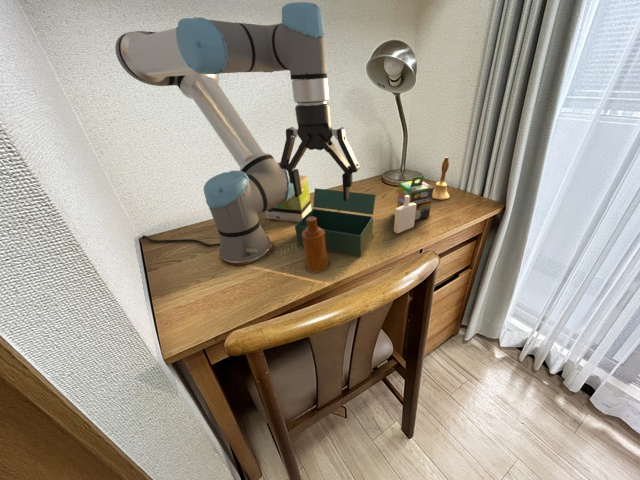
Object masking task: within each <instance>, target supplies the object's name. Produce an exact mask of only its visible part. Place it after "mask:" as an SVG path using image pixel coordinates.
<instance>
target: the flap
mask: <svg viewBox="0 0 640 480" xmlns="http://www.w3.org/2000/svg"><path fill="white" fill-rule="evenodd" d="M376 197H377V195H376V194H373V193H363V192H353V191H349V198H348V200H347V201H344V197H343V190H334V189H325V188H316V187H314V193H313V203H312V204H313V205H312V207H313V208H316V209H324V210H333V211H339V212H347V213H355V214H362V215H371V216H373V215H374V210H375V203H376Z"/></svg>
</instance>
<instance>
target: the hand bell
mask: <svg viewBox="0 0 640 480" xmlns="http://www.w3.org/2000/svg"><path fill="white" fill-rule="evenodd" d="M449 158H450V157H449V156H445V157H444V159H443V161H442V164H441V176H440V180H439V181H438V182H436V183H435V186H434V189H433V195H432V199H435V200H439V201H440V200H441V201H442V200H443V201H444V200H448V199H450V194H449V193H448V184H447V183H446V182H445V181H446V174H447V172H448V170H449V166H450V159H449Z"/></svg>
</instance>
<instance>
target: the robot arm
mask: <svg viewBox="0 0 640 480" xmlns="http://www.w3.org/2000/svg"><path fill="white" fill-rule="evenodd" d="M323 18H324V17H323V12H322V9H321V7H320V6H319V5H318V4H316V3H313V2H307V1H296V2H295V1H294V2H289V3H285V4H284V5H283V6H282V7H281V22H280V23H276V24H267V25H264V24H253V23H244V22H231V21H223V20H215V19H207V18H205V17H192V18H191V17H185V18H184V17H183V18H180V20H179V21H178V22H177V27H174V28H169V29H166V30H162V31H146V30H136V31H135V30H134V31H129V32H125V33H123V34H121V35H120V36H119V37H118V38H117V40H116V42H115V47H114V48H115V55H116V58H117V61H118V62H119V64H120V65H121V67H122V68H123V69H124V71H125V72H126V73H127V74H128V75H129V76H131V77H132V78H134V79H135V80H137V81H139V82H141V83H143V84H146V85H150V86H156V87H169V86H170V87H171V86H173V87H174V86H177V88H178V89H179V91H181V93H182V94H183V95H184V96H185V97H186V98H188V99H190V100H191V99H192V100H193V101H194V103H195V104H196V105H197V107H198V108H199V110H200V111H201V113H202V114H203V116H204V117H205V119H206V120H207V122H208V123H209V124H210V126H211V127H212V129H213V131H214V132H215V133H216V135H217V136H218V137H219V139H220V141H221V142H222V143H223V145H224V147H225V148H226V149H227V151H228V152H229V153H230V155H231V156H232V158H233V159H234V161H235V162H236V164H237V165H238V167H239V170H229V171H227V172H226V171H225V172H222V173H219V174H216V175H214V176H212V177H211V178H209V179H208V180H207V181H206V182H205V183H204V185H203V194H204V198H205V201H206V202H205V203H206V205H207V206H208V209H209V211H210V214H211V216H212V219H213V221H214V223H215V226H216V229H217V231H218V234H219V243H205V242H203V241H201V240H198V239H193V238H191V239H190V238H185V239H184V238H183V239H181V238H180V239H151V238H149V237H148V236H147V235H142V236H141V239H142V240H143V239H146V240H147V241H149V242H151V243H181V242H194V243H198V244H200V245H202V246H205V247H219V255H220V258H221V260H222V261H223V262H224V263H225V264H227V265H230V266H247V265H251V264H254V263H257V262H259V261H261V260H263V259H265V258H266V257H267V256H268V255H270V253H271V252H272V250H273V245H272V241H271V239H270V237H269V236H268V235H267V233H266V231H265V230H264V228H263V227H262V225H261V222H260V218H259V216H258V215H260V214H262V213H266V212H265V211H267V210H269V209H271V208H273V207H275V206H278V205H280V204H283V203H285V202H286V201H288V200H289V199H291V198H292V197H293V195H294V193H295V197H298V196H300V195H301V194H302V190H301V184H300V177H299V175H300V171H299V169H298V168H297V166H298V164H299V163H300V161H301V159H302V158H303V156H304V154H305V153H306V151H307V150H309V151H313V150H317V151H322V150H324V151H325V152H326V153H328V154H329V155H330V157H331V158H332V160H334V161H335V163H336V164H337V165H338V167H340V169H341V170H342V171H343V172H344V173H342V176H341V177H342V191H343V197H344V201H347V200H348V198H349V192H350V188H351V187H352V186H353V181H354V180H353V173H357V172H358V171H359V170H360V167H361V166H360V164H359V162H358V160H357V158H356V156H355V153H354V151H353V149H352V147H351V144H350V143H349V140H348V139H347V134H346V129H345V127H343V126H341V127H340V128H334V129H333V127H332V120H331V119H332V118H331V106H330V105H329V103H327V102H328V101H329V100H330V94H329V80H328V73H327V72H328V71H327V60H326V59H327V57H326V54H327V53H326V52H327V51H326V33H325V28H324V27H325V26H324V19H323ZM283 71H289V73H290V81H291V88H292V97H293V102H294V103H295V104H296V105H295V107H294V111H295V116H296V117H295V118H296V123H297V128H295V126H294V127H293V126H291V127H288V128H286V129H285V143H284V146H283V150H282V151H283V152H282V154H281V159H280V161H279V162H277V161H276V159H275V157H273V155H272V154H271V153H267V152H264V151H263V148H262V147H261V146H260V144H259V143H258V141H257V140H256V138H255V137H254V135H253V134H252V132H251V131H250V129H249V128H248V126H247V124H245V122H244V120H243V118H241V116H240V114H239V113H238V111H237V110H236V109H235V107H234V105H233V104H232V103H231V101H230V99H229V98H228V96H227V95H226V93H225V91H223V89H222V87H221V86H220V85H219V84H220V74H237V73H274V72H283ZM333 136H334V138H335V139H336V140H337V142H338V144H339V146H340V149H341V150H342V153H343V155H344V156H343V155H342V153H341V151H339V150H338V148H337V147H336V145H335V143H334V142H333V141H332V138H333ZM297 137H298V138H299V139H300V140H301V142H300V144H299V145H298V148H297V149H296V152H294V155H293V157H292V154H293V153H292V152H293V150H294V145H295V141H296V138H297ZM291 157H292V158H291Z"/></svg>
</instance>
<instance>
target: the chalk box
mask: <svg viewBox="0 0 640 480" xmlns="http://www.w3.org/2000/svg"><path fill="white" fill-rule="evenodd" d="M424 179H425V176H424V175H420V176H419V175H418V176H414V177H413V178H412V180H409V181H405V182H400V183H399V184H398V192H397V205H396V208H398V207H401V206H403V205H404V200H405V196H407V195H408V196H410V198H409V203H412V202H413V203H416V213H415V221H417V220H422V219H426V218H429V217H430V213H431V208H432V201H433V198H432V195H433V190H434V188H435V186H432V185H430V184H428V183H427V182H425V181H424Z"/></svg>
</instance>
